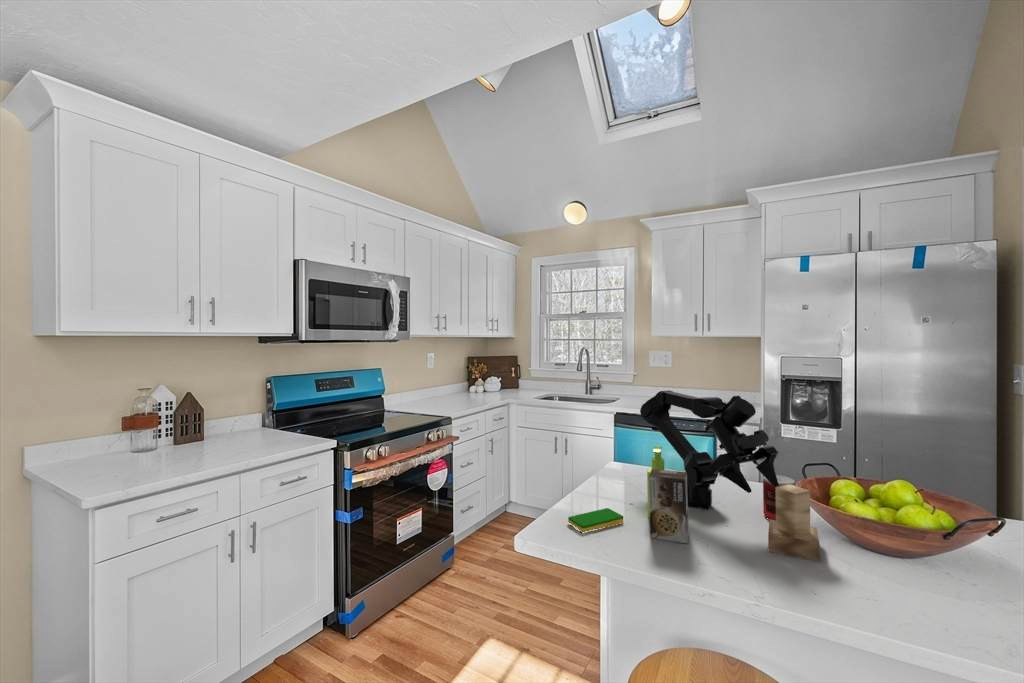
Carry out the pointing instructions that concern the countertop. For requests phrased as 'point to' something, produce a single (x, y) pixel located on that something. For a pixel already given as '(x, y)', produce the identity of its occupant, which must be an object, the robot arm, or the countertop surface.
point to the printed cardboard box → (668, 505)
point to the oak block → (793, 510)
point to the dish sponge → (596, 519)
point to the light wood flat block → (794, 543)
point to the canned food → (772, 495)
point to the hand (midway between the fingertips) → (763, 489)
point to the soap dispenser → (655, 467)
